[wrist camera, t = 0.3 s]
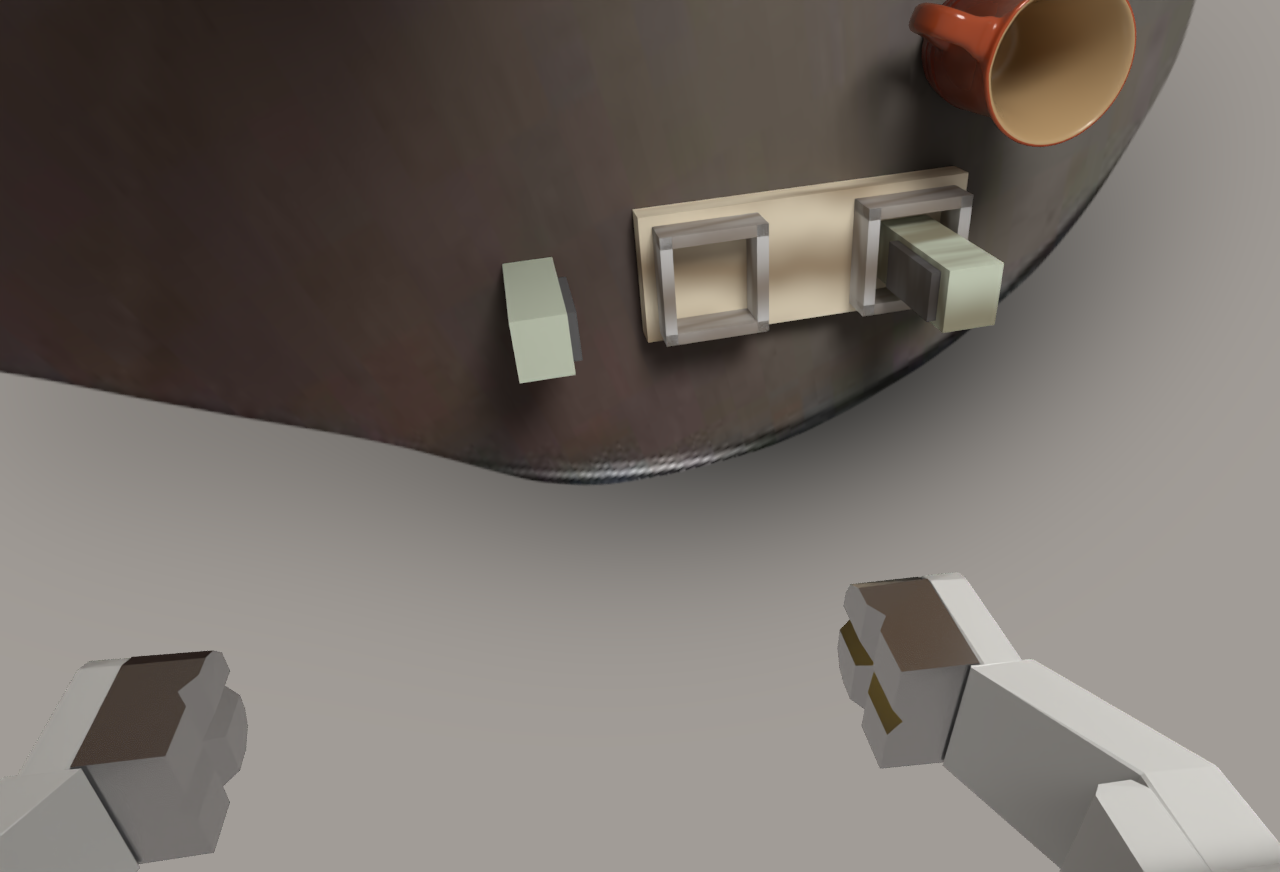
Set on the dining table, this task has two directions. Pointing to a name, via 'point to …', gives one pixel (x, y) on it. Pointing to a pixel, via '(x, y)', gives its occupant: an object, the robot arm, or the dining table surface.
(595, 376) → the dining table surface
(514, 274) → the block
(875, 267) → the cream peg holder
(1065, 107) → the mug
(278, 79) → the dining table surface
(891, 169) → the dining table surface
